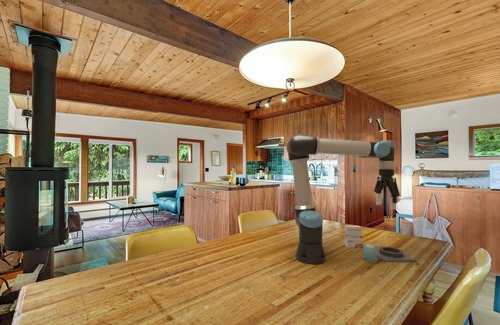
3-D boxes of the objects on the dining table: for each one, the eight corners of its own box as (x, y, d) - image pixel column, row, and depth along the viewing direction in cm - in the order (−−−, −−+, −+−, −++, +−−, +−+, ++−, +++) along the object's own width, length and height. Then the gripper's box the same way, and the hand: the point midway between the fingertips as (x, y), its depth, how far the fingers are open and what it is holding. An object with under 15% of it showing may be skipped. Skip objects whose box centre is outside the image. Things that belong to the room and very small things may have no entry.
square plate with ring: (384, 261, 122) (384, 255, 122) (368, 250, 138) (368, 245, 138) (416, 261, 122) (416, 255, 122) (396, 250, 138) (396, 245, 138)
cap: (367, 262, 121) (367, 248, 121) (361, 257, 127) (361, 243, 127) (380, 262, 121) (380, 248, 121) (373, 257, 127) (373, 243, 127)
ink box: (358, 245, 147) (358, 225, 147) (361, 247, 142) (361, 227, 142) (344, 244, 148) (344, 224, 148) (346, 247, 143) (346, 226, 143)
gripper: (408, 169, 124) (407, 211, 124) (380, 168, 149) (379, 203, 149) (393, 169, 123) (392, 211, 123) (368, 168, 148) (367, 203, 148)
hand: (385, 206), depth 136 cm, fingers open, 13 cm apart
